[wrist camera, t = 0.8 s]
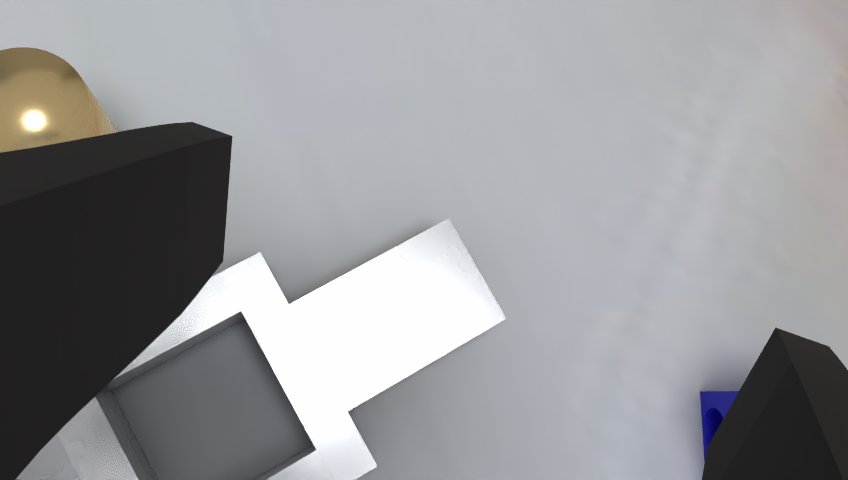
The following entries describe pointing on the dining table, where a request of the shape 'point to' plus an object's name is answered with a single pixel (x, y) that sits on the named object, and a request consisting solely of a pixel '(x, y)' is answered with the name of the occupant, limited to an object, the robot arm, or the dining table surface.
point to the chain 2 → (318, 347)
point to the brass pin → (45, 102)
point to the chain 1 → (54, 471)
